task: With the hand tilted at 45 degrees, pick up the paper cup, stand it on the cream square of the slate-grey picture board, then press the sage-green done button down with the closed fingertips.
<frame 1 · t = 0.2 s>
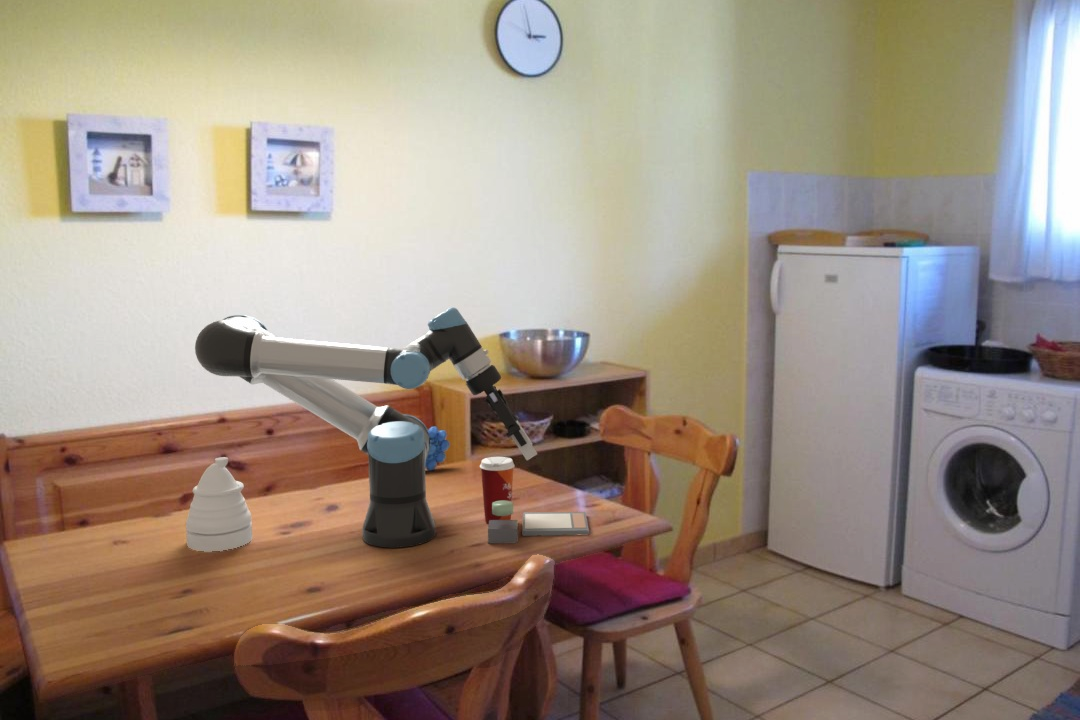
hand: (529, 452, 202), 15 cm above the table, tool tilted 30°, fingers open, 13 cm apart
done button: (502, 508, 188), point 6 cm above the table, slide at 0.0 cm
button housing: (503, 538, 188), on the table
paper cup: (498, 522, 199), on the table
grapes: (429, 470, 245), on the table
picture board: (554, 525, 196), on the table
honey pot: (220, 542, 188), on the table
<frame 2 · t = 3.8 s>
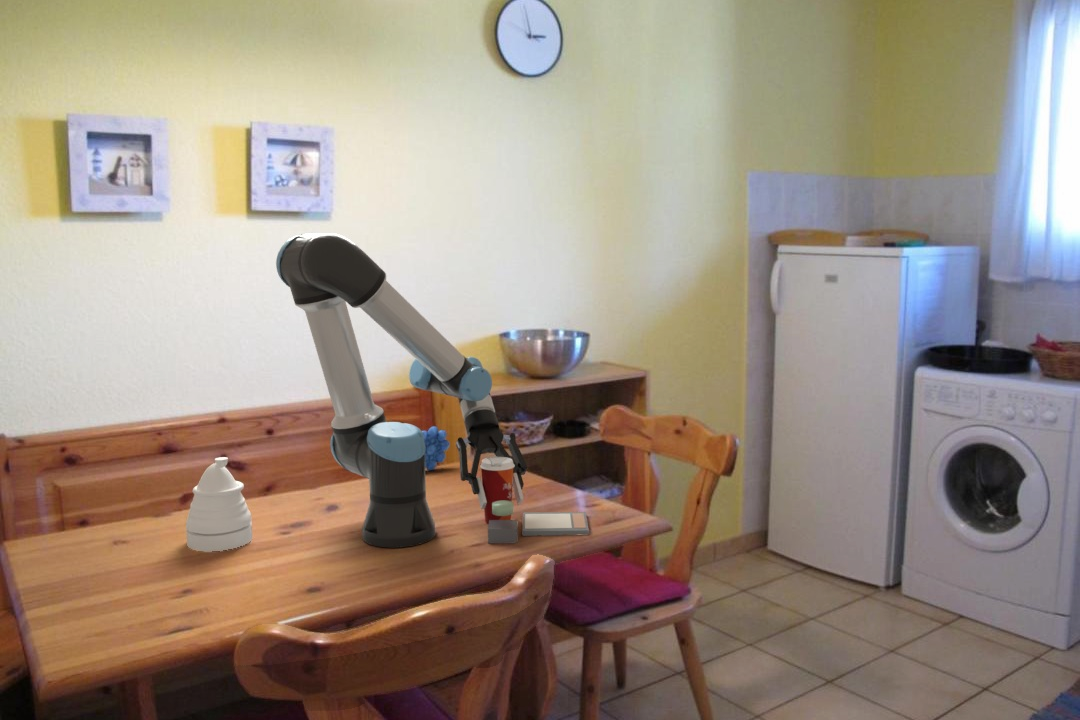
hand: (502, 503, 196), 5 cm above the table, tool tilted 45°, fingers closed on paper cup, 8 cm apart
paper cup: (498, 522, 199), on the table, touching gripper
everything else where it was.
when the fingers open (7 cm above the table, at t = 8.6 s): paper cup stays where it is, resting on picture board.
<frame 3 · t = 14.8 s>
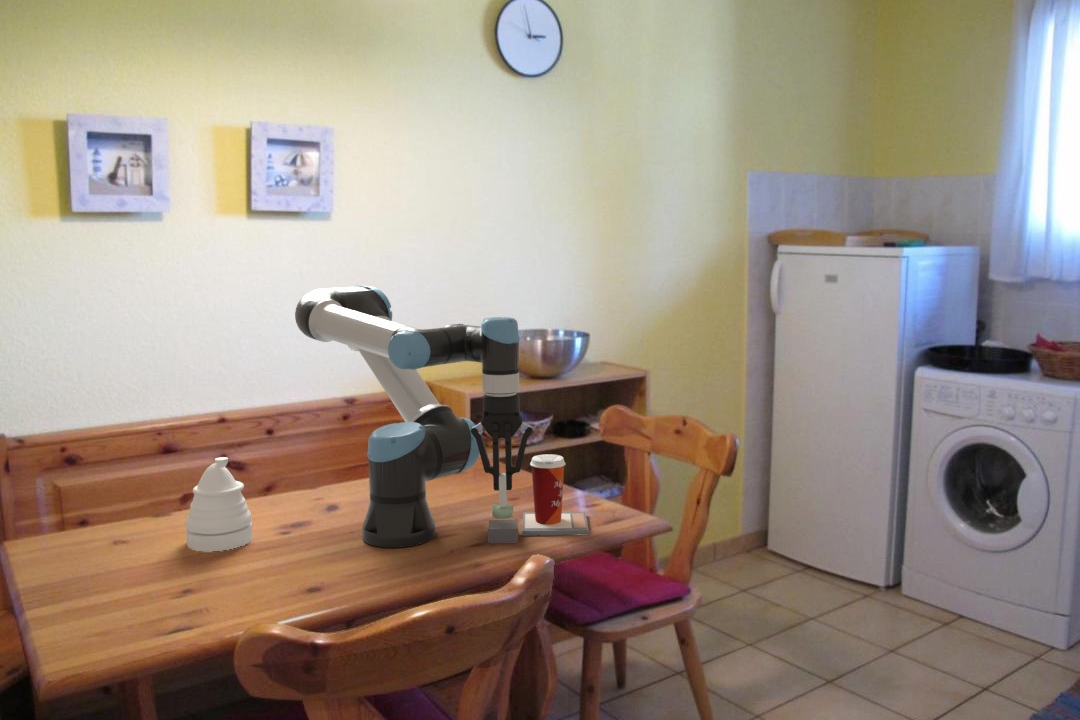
hand: (503, 505, 187), 7 cm above the table, tool pointing down, fingers closed
done button: (502, 510, 188), point 6 cm above the table, slide at 0.6 cm, touching gripper
paper cup: (548, 521, 197), point 1 cm above the table, touching picture board
everything else where it was.
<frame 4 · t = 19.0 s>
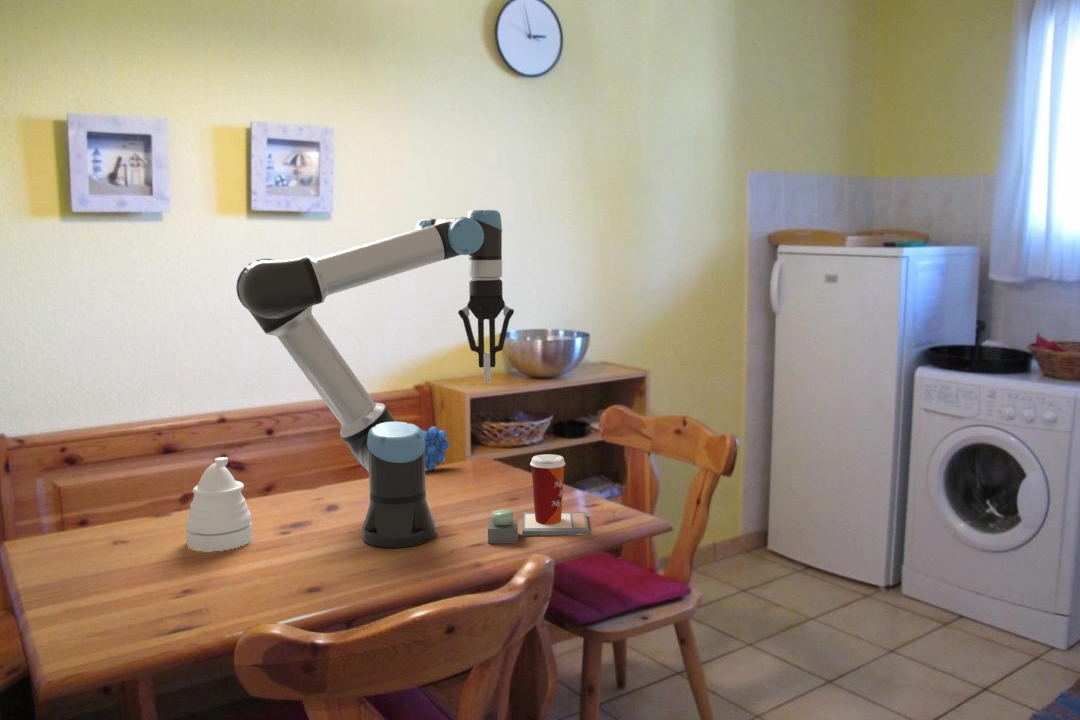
hand: (487, 381, 208), 29 cm above the table, tool pointing down, fingers closed
done button: (502, 517, 188), point 5 cm above the table, slide at 2.0 cm
everything else where it was.
at the end: paper cup inside the target area (0.2 cm from its centre), point 0.9 cm above the table; paper cup tilted 0°; done button slide at 2.0 cm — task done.
